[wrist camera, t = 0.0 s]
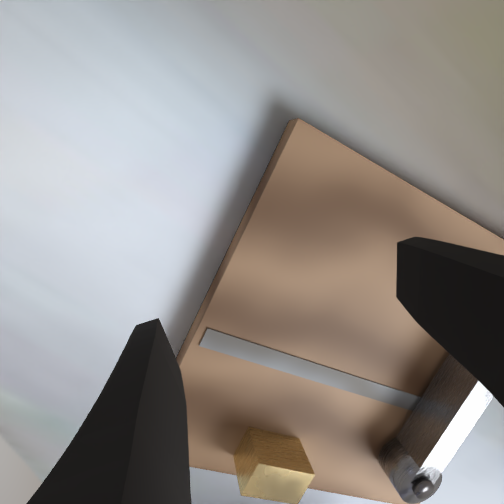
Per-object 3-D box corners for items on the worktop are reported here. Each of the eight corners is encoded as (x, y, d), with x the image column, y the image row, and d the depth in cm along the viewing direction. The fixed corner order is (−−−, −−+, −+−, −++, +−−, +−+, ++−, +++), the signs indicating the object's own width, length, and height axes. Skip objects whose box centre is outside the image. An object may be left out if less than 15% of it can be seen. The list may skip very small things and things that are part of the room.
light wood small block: (283, 465, 24) (297, 504, 21) (232, 455, 23) (240, 495, 20) (299, 438, 23) (315, 474, 21) (248, 426, 22) (258, 463, 20)
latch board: (405, 491, 30) (417, 509, 28) (138, 437, 22) (135, 458, 21) (550, 272, 26) (572, 280, 25) (289, 120, 19) (299, 118, 17)
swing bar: (402, 473, 26) (429, 512, 23) (370, 466, 25) (395, 506, 22) (516, 298, 23) (563, 318, 21) (486, 282, 22) (531, 301, 20)
